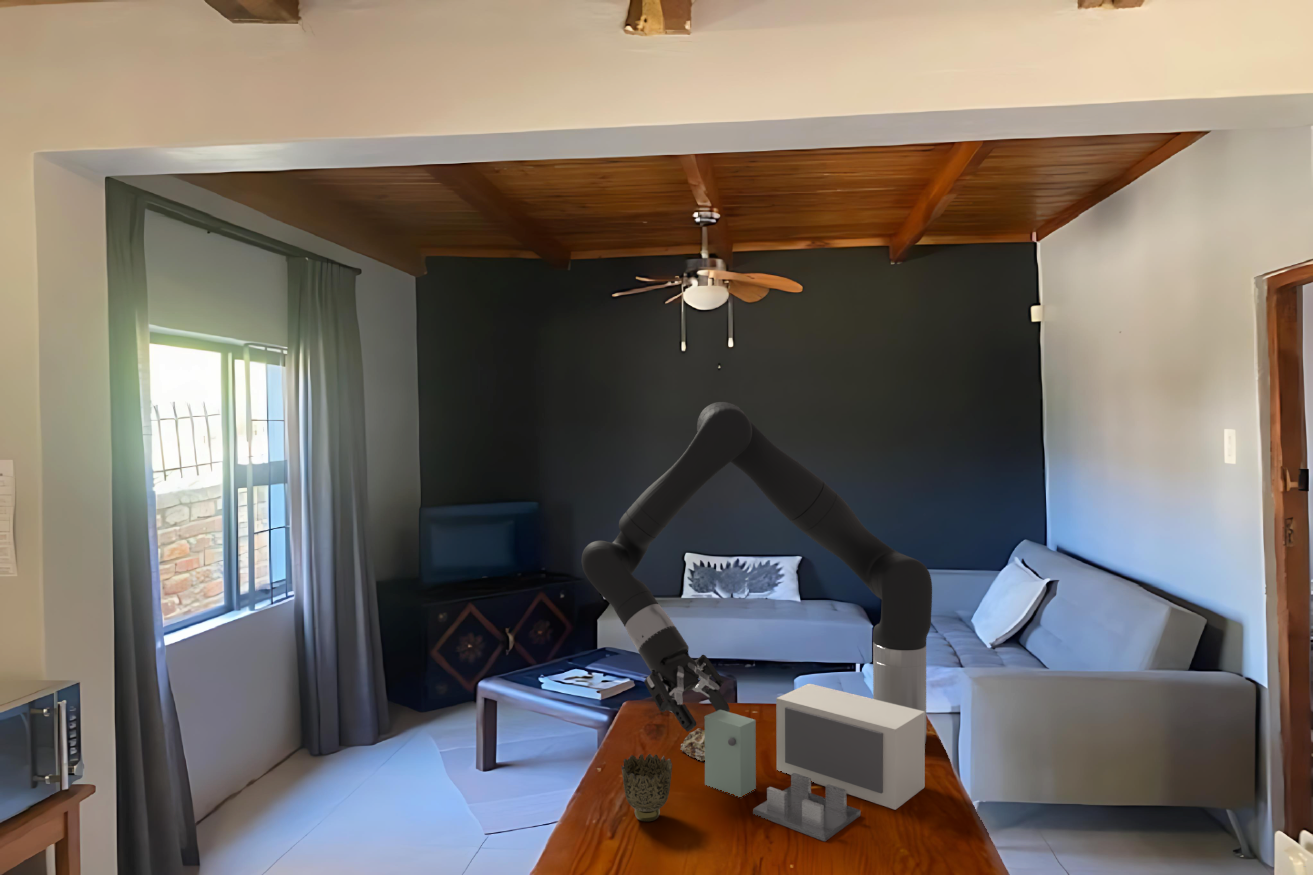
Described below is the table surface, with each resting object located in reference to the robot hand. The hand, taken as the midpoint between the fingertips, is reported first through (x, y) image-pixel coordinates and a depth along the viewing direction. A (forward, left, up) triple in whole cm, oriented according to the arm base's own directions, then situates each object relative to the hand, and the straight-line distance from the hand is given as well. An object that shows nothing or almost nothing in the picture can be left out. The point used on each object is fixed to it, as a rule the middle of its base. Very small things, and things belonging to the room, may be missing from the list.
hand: (709, 721), depth 134 cm
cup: (+16, +1, -10) cm, 19 cm away
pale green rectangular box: (0, +4, -9) cm, 10 cm away
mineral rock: (-8, -7, -10) cm, 15 cm away
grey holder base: (0, +18, -9) cm, 20 cm away
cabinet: (-15, +17, -9) cm, 24 cm away
